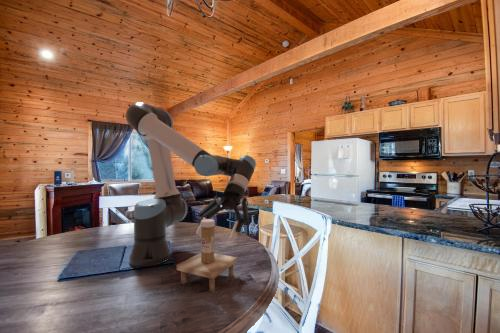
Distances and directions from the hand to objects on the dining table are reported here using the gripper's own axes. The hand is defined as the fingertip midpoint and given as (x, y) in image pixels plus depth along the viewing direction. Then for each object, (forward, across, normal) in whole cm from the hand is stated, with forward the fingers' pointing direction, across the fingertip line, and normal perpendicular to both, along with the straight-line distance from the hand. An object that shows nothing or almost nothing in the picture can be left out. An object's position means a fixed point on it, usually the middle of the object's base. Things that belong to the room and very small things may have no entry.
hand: (214, 237), depth 84 cm
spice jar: (+7, +1, -3) cm, 8 cm away
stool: (+11, +1, -7) cm, 13 cm away
